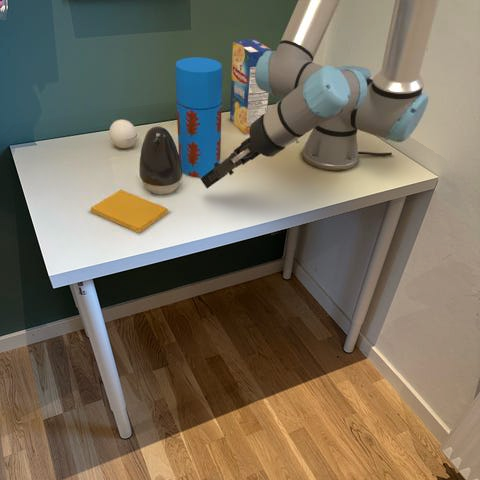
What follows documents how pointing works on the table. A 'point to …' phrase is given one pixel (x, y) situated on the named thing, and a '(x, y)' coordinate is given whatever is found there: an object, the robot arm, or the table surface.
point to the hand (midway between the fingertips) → (205, 182)
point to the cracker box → (246, 84)
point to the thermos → (199, 114)
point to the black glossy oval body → (160, 162)
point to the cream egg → (123, 133)
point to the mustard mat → (129, 210)
